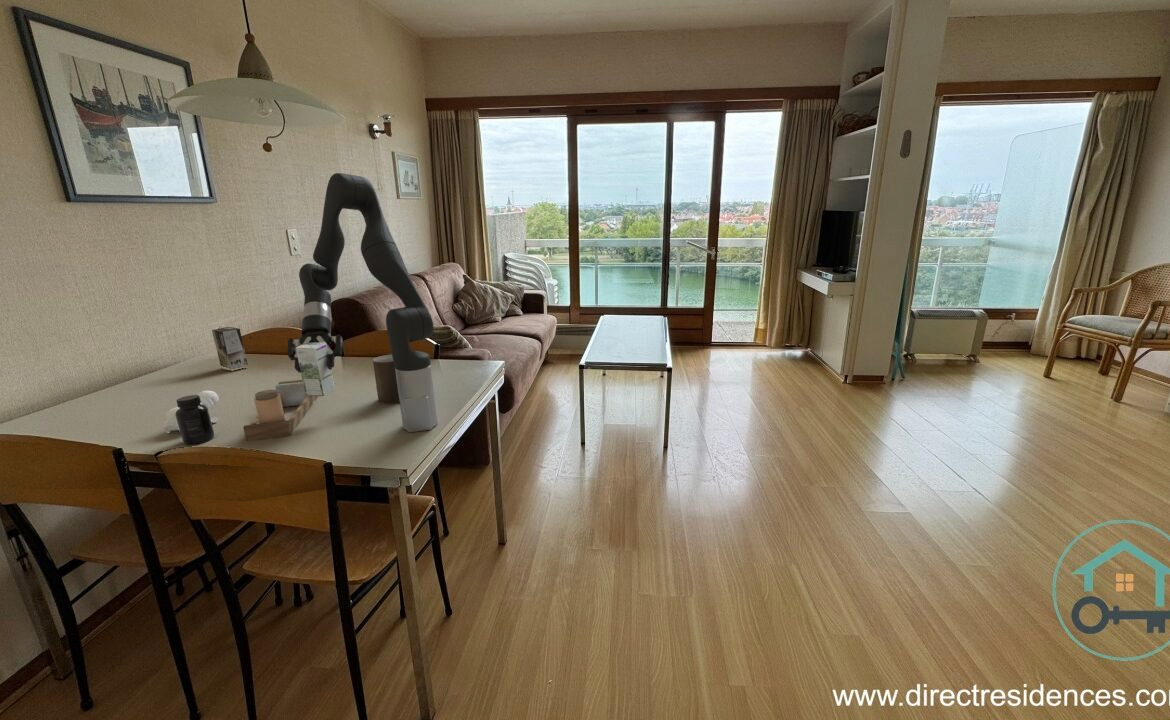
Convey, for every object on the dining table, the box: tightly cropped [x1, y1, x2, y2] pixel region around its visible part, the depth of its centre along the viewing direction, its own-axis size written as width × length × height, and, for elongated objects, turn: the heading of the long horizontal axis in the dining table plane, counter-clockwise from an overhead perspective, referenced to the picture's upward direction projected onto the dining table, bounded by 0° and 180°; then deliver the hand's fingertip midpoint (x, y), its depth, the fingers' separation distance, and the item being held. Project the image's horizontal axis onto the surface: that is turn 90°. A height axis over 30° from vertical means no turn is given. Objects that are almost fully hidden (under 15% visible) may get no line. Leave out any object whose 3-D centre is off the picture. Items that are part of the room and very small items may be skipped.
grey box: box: [274, 382, 307, 408], centre depth 156 cm, size 6×8×7 cm
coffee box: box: [211, 326, 249, 369], centre depth 194 cm, size 9×6×16 cm
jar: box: [253, 389, 286, 424], centre depth 135 cm, size 6×6×11 cm
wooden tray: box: [242, 379, 319, 442], centre depth 146 cm, size 32×10×6 cm, turn 15°
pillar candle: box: [372, 354, 400, 405], centre depth 156 cm, size 10×10×15 cm
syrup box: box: [295, 343, 336, 397], centre depth 139 cm, size 6×6×14 cm
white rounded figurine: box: [162, 390, 220, 433], centre depth 141 cm, size 9×8×15 cm
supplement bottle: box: [175, 394, 215, 446], centre depth 130 cm, size 7×7×12 cm
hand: (314, 369), depth 137 cm, fingers closed on syrup box, 7 cm apart
